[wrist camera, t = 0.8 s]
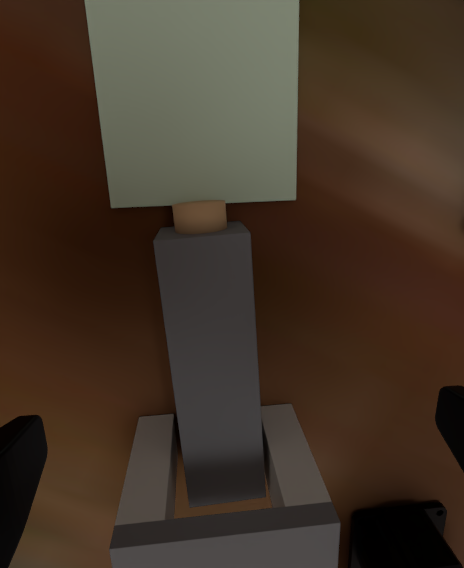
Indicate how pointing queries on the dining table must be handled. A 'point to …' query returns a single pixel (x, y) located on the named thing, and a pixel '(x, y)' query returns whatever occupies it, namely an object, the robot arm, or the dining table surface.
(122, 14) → the mat
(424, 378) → the dining table surface
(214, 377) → the grey tall block
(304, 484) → the clip
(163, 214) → the dining table surface
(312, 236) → the dining table surface
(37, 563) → the dining table surface
